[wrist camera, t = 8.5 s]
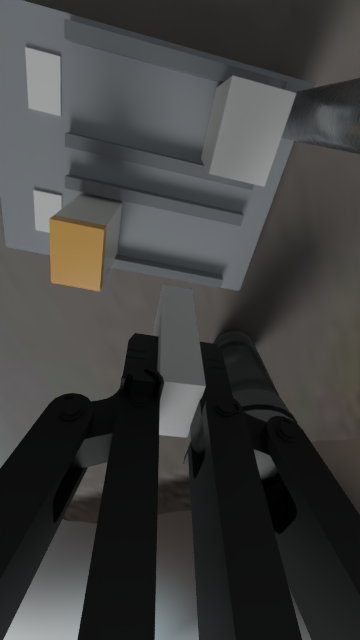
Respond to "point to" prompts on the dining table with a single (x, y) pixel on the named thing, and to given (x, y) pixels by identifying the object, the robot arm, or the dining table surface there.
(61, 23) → the panel
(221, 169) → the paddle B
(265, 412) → the beverage cup
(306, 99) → the post
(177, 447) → the dining table surface
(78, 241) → the grey orange block
